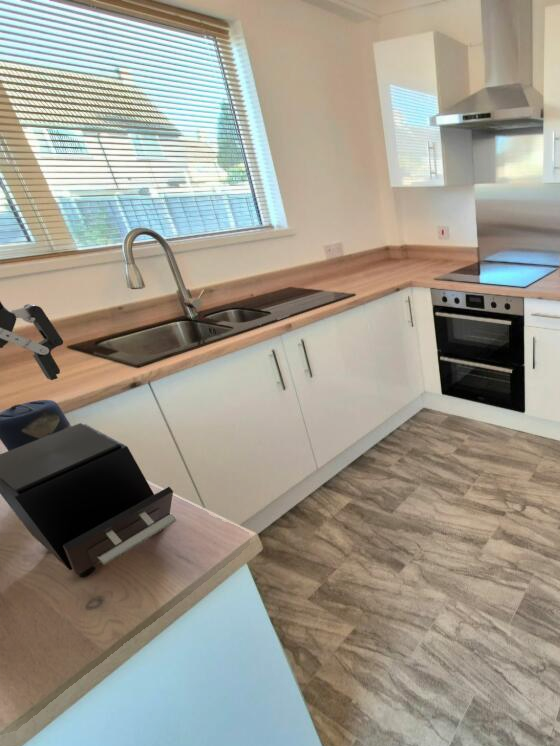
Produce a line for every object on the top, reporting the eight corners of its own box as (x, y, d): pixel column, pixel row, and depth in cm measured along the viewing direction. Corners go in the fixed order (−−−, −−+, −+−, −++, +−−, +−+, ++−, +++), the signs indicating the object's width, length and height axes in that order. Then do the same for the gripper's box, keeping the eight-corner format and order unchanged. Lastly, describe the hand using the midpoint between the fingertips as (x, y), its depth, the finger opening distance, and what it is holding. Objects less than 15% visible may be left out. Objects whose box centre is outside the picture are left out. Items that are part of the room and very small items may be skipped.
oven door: (183, 536, 74) (189, 509, 65) (93, 594, 64) (86, 572, 55) (165, 515, 74) (169, 486, 65) (72, 570, 64) (62, 545, 56)
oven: (172, 527, 76) (125, 443, 68) (80, 584, 66) (12, 493, 58) (130, 500, 83) (83, 421, 75) (41, 547, 73) (-24, 462, 65)
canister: (49, 498, 85) (-6, 421, 77) (27, 486, 89) (-27, 412, 80) (106, 469, 92) (62, 397, 84) (83, 460, 96) (39, 389, 88)
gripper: (5, 259, 58) (67, 366, 66) (-174, 284, 47) (-75, 410, 55) (25, 262, 55) (88, 375, 62) (-163, 290, 44) (-60, 423, 51)
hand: (11, 391), depth 59 cm, fingers open, 8 cm apart
